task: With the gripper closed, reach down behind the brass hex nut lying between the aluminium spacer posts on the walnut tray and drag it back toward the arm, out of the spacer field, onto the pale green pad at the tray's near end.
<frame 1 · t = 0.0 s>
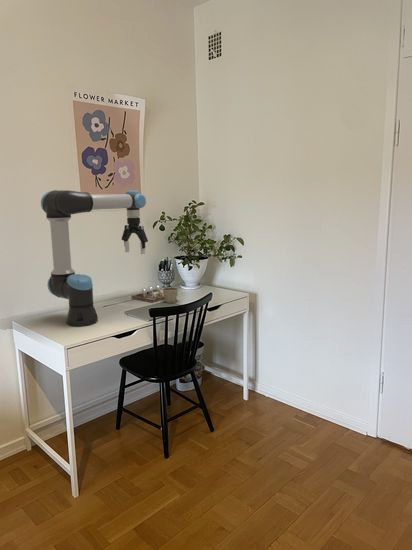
hand: (134, 253, 252), 28 cm above the table, fingers open, 13 cm apart
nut: (157, 296, 257), point 1 cm above the table, touching tray
flower pot: (170, 303, 246), on the table
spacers: (156, 292, 256), in the tray, point 4 cm above the table
tray: (155, 298, 256), on the table
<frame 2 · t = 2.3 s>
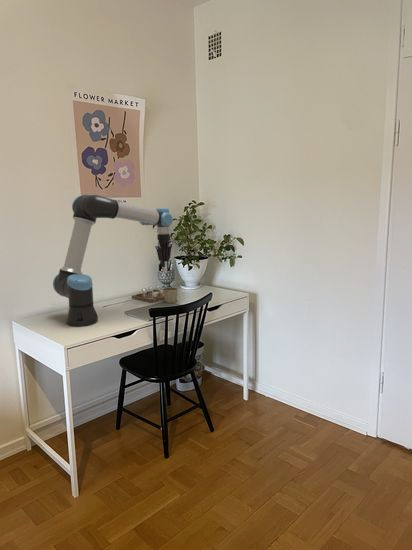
hand: (164, 271, 260), 15 cm above the table, fingers closed
nothing on the table moved.
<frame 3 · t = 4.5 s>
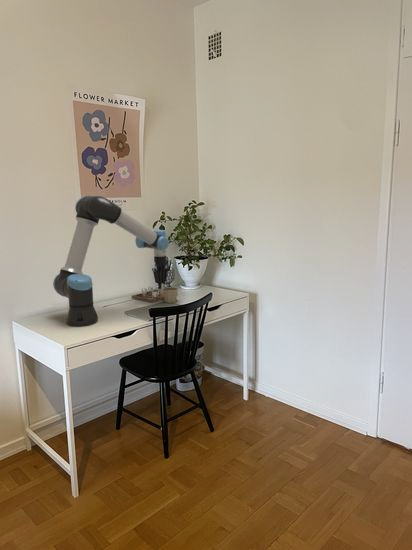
hand: (161, 293, 259), 2 cm above the table, fingers closed
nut: (157, 296, 257), point 1 cm above the table, touching gripper
everything else where it was.
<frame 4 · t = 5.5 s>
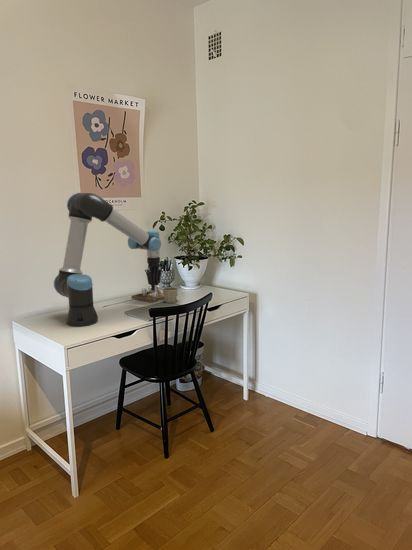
hand: (154, 295, 255), 2 cm above the table, fingers closed
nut: (151, 298, 253), point 1 cm above the table, touching gripper
everything else where it was.
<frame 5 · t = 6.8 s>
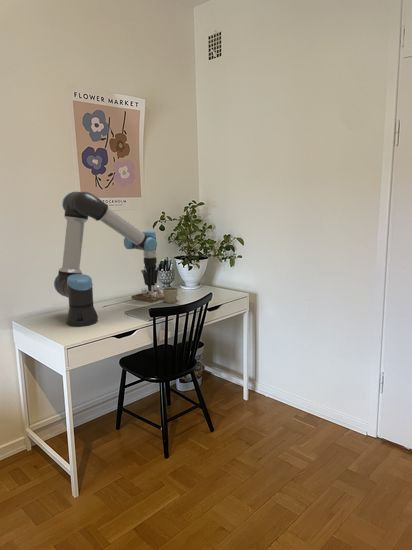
hand: (151, 296, 253), 3 cm above the table, fingers closed
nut: (148, 299, 250), point 1 cm above the table, touching gripper, tray
everything else where it was.
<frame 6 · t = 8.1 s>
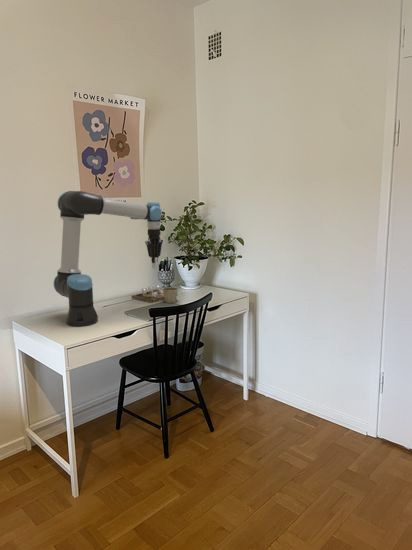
hand: (154, 268, 252), 19 cm above the table, fingers closed
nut: (148, 299, 250), point 1 cm above the table, touching tray
everything else where it was.
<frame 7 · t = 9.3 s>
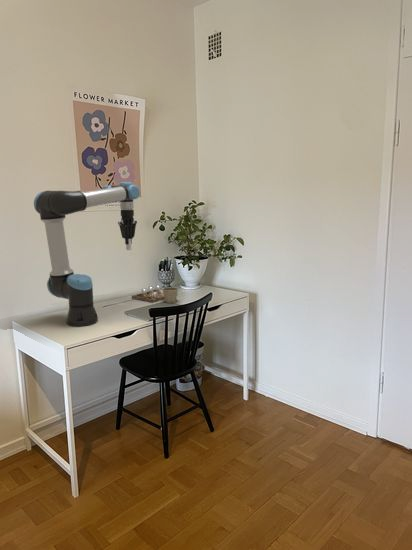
hand: (128, 249, 249), 30 cm above the table, fingers closed
nothing on the table moved.
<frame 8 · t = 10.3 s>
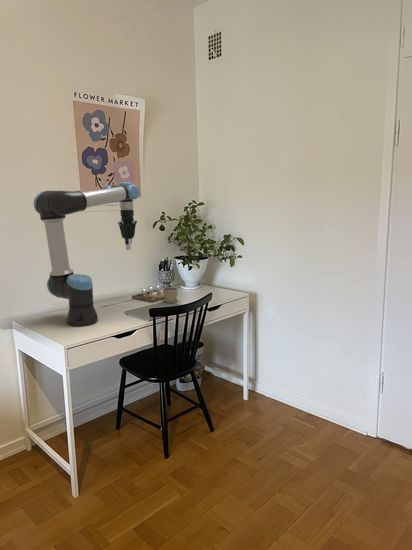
hand: (128, 249, 249), 30 cm above the table, fingers closed
nothing on the table moved.
at the end: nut inside the target area (1.3 cm from its centre), point 1.2 cm above the table; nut moved 8.4 cm from its start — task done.
